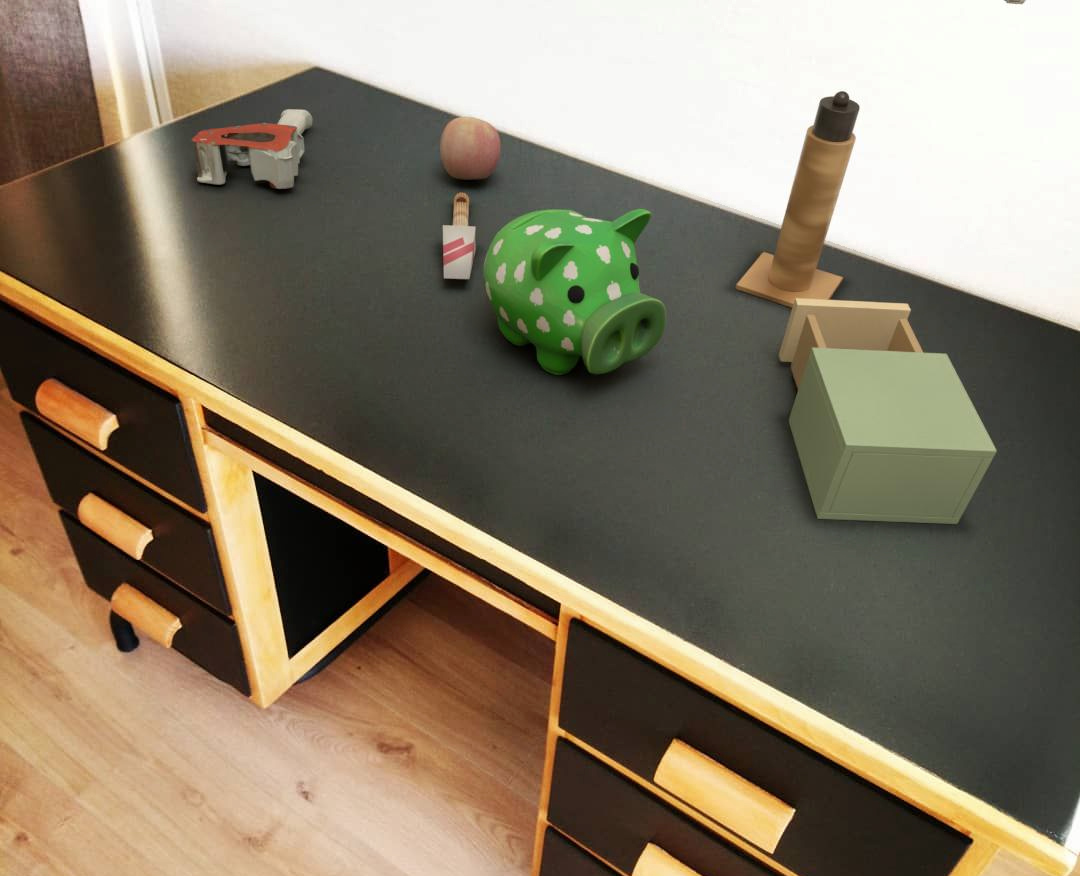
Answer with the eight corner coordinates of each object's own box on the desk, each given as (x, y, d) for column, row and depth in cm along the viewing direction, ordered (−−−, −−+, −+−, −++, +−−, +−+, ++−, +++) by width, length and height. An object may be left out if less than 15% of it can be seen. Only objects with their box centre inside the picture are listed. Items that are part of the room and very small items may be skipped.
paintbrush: (438, 265, 102) (447, 187, 116) (438, 288, 103) (447, 209, 118) (473, 266, 102) (478, 189, 116) (473, 289, 104) (478, 210, 118)
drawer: (776, 348, 99) (792, 291, 94) (882, 353, 99) (904, 296, 94) (802, 432, 89) (822, 373, 84) (919, 437, 90) (946, 379, 85)
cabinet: (788, 420, 92) (811, 347, 85) (914, 425, 92) (946, 353, 86) (817, 519, 82) (846, 444, 76) (957, 524, 83) (997, 451, 77)
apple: (510, 188, 122) (512, 126, 116) (457, 199, 119) (457, 136, 113) (482, 162, 126) (483, 102, 120) (431, 172, 123) (429, 110, 118)
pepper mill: (817, 277, 110) (874, 90, 94) (803, 296, 106) (860, 106, 91) (776, 264, 111) (827, 77, 96) (762, 283, 108) (811, 93, 93)
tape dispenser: (306, 135, 132) (169, 160, 122) (302, 95, 129) (161, 118, 118) (374, 178, 123) (232, 209, 112) (373, 136, 119) (226, 164, 109)
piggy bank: (566, 417, 90) (580, 278, 79) (455, 328, 99) (454, 192, 88) (671, 366, 97) (697, 232, 86) (558, 287, 106) (569, 157, 95)
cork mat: (841, 281, 110) (843, 277, 110) (818, 316, 105) (819, 312, 104) (762, 256, 113) (763, 251, 113) (735, 289, 108) (736, 284, 107)
